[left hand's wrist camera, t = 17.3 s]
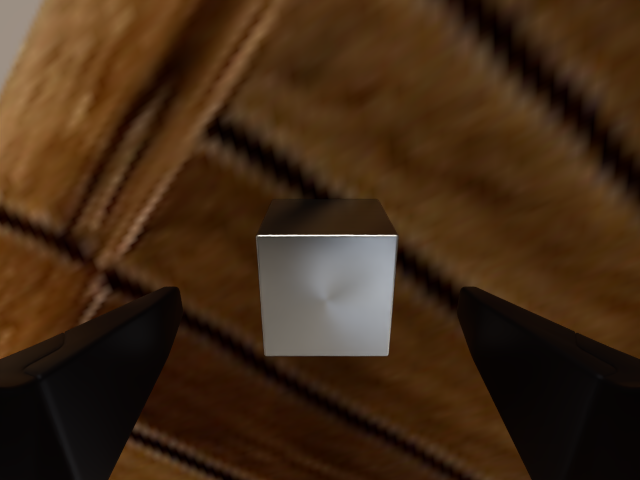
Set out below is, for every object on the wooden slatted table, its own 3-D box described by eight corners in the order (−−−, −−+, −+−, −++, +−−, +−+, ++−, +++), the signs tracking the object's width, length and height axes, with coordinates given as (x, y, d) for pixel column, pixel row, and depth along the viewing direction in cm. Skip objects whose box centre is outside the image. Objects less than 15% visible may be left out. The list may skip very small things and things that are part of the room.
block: (378, 198, 15) (399, 235, 11) (372, 295, 17) (389, 357, 13) (272, 198, 15) (255, 235, 11) (276, 296, 17) (263, 357, 13)
